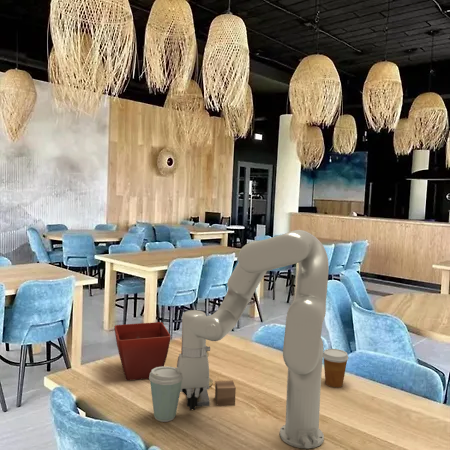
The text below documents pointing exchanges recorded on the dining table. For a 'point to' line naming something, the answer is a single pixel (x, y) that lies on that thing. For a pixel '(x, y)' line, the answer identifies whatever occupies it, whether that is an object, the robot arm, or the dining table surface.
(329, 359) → the disposable coffee cup
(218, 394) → the walnut block
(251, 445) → the dining table surface
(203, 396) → the balance
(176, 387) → the disposable coffee cup
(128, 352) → the plant pot
